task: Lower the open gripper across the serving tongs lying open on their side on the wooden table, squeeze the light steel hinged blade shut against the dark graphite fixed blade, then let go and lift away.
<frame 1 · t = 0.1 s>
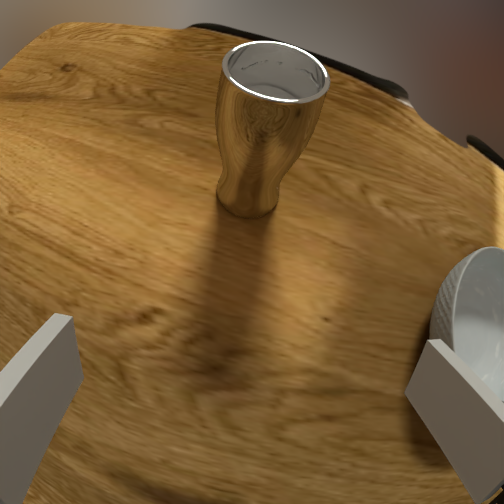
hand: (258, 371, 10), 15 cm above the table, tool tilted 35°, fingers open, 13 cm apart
beer glass: (247, 192, 30), on the table
cereal bowl: (460, 338, 28), on the table
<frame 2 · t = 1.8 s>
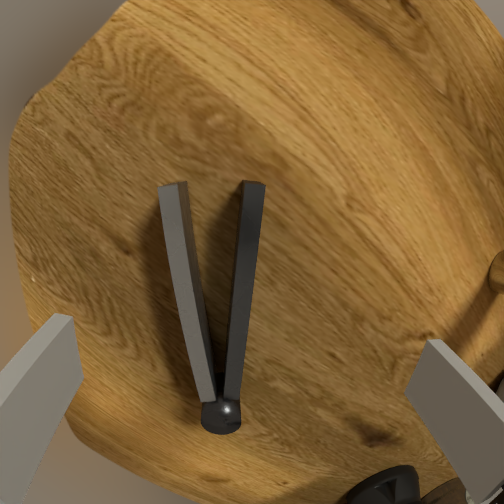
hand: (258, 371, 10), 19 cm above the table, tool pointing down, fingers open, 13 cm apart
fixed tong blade: (221, 385, 33), on the table
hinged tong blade: (191, 298, 27), point 3 cm above the table, hinge at 12.0°
beer glass: (500, 270, 32), on the table
wooden container: (438, 492, 52), on the table
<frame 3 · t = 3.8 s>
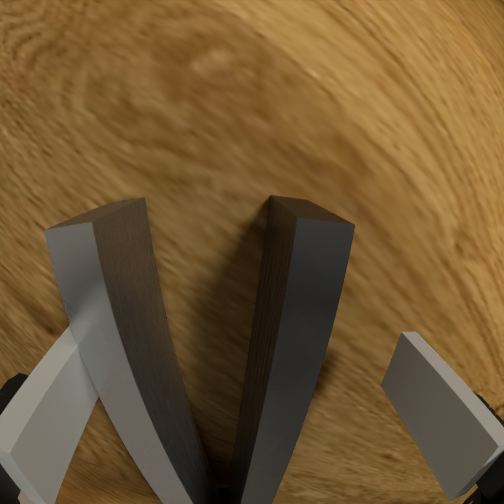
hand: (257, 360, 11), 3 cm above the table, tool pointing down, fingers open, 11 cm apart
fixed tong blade: (224, 498, 18), on the table
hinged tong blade: (167, 433, 12), point 3 cm above the table, hinge at 11.9°, touching gripper
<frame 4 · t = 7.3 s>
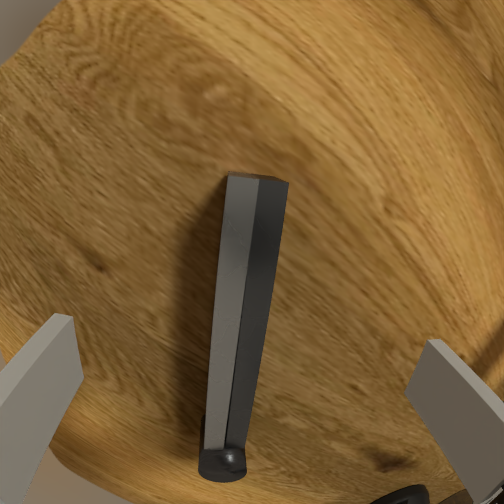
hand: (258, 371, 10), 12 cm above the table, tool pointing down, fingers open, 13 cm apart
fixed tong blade: (221, 422, 26), on the table
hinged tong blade: (223, 331, 20), point 3 cm above the table, hinge at -0.5°
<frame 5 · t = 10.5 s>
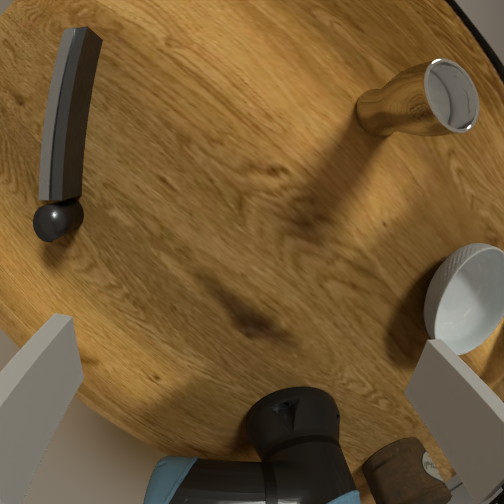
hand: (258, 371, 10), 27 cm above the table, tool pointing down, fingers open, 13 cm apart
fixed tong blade: (70, 214, 34), on the table
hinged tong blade: (61, 112, 27), point 3 cm above the table, hinge at -0.5°
beer glass: (377, 113, 33), on the table
cereal bowl: (451, 286, 41), on the table
wooden container: (391, 456, 53), on the table
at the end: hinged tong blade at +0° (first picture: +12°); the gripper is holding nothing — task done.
